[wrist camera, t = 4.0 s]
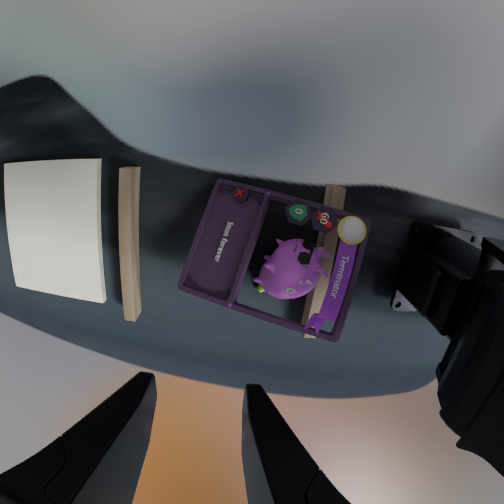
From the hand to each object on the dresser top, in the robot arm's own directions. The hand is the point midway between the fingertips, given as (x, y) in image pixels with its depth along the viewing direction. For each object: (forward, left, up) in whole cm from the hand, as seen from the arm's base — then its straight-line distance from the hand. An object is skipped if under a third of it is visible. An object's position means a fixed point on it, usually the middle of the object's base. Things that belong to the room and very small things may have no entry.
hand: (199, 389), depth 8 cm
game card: (+1, -1, -12) cm, 12 cm away
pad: (+13, -1, -12) cm, 17 cm away
